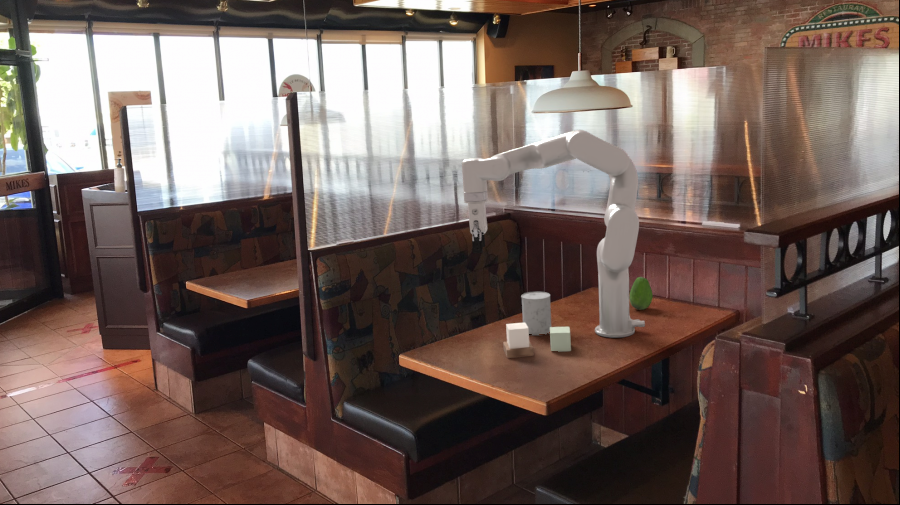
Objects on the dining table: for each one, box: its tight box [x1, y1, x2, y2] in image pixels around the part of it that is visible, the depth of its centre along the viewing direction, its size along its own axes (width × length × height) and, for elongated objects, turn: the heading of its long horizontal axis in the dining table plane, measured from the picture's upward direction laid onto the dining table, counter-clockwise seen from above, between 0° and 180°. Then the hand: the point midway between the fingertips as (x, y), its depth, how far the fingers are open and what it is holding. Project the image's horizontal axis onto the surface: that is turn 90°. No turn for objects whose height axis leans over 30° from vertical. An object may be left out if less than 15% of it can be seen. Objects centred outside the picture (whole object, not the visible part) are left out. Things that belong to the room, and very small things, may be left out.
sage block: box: [549, 326, 572, 352], centre depth 224 cm, size 6×6×6 cm
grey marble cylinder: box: [520, 291, 552, 336], centre depth 242 cm, size 10×10×12 cm
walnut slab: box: [502, 340, 534, 359], centre depth 223 cm, size 8×8×3 cm
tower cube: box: [505, 322, 530, 349], centre depth 222 cm, size 6×6×6 cm
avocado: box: [629, 276, 654, 311], centre depth 258 cm, size 8×8×12 cm
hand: (479, 249), depth 234 cm, fingers open, 9 cm apart
